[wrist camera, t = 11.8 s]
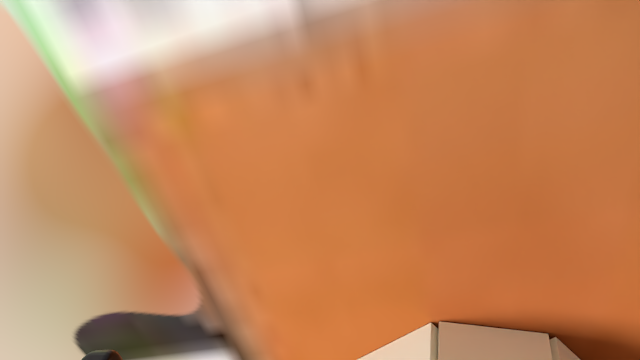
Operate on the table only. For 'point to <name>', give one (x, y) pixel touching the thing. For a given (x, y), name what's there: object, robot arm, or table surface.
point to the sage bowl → (472, 345)
